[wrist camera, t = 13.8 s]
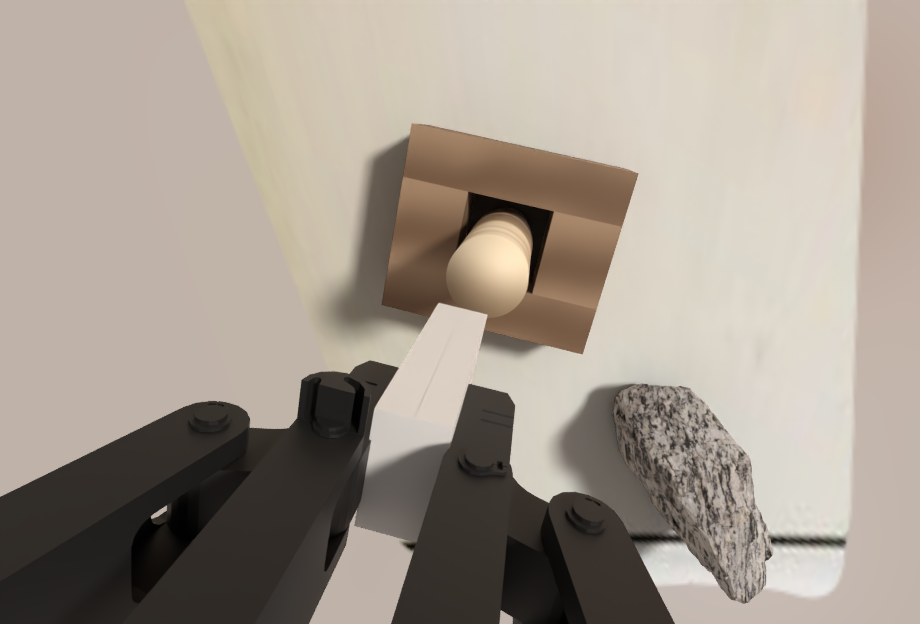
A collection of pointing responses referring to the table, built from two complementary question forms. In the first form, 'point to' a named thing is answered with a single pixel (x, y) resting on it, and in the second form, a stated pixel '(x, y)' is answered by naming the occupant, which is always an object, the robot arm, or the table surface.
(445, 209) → the board
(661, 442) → the rock
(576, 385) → the table surface
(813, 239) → the table surface
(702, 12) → the table surface
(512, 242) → the peg
